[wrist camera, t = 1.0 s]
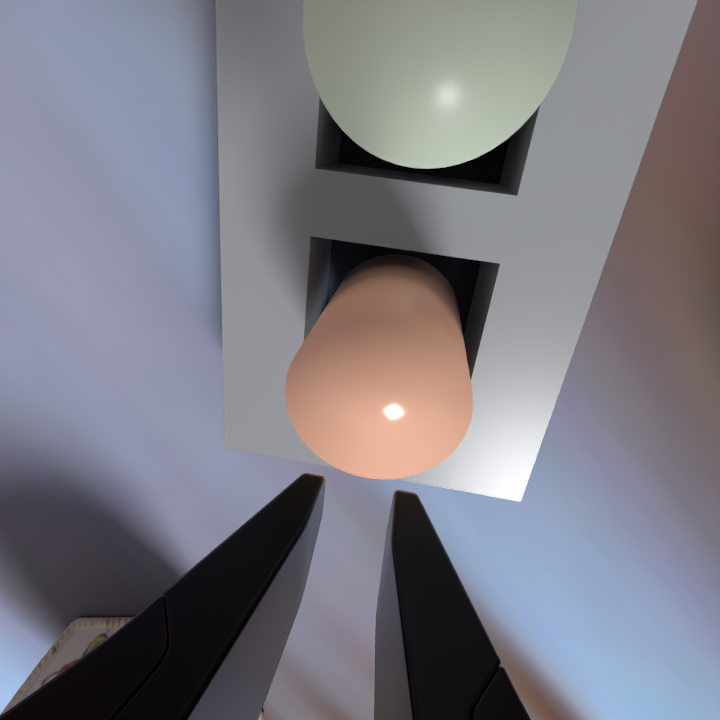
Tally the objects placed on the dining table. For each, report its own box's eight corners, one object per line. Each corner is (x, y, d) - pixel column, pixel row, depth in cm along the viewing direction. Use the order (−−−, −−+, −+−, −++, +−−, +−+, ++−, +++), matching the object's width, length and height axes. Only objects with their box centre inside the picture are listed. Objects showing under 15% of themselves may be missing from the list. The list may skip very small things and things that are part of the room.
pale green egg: (534, -19, 13) (621, -153, 7) (493, 167, 15) (533, 183, 9) (364, -36, 13) (311, -177, 7) (347, 148, 15) (296, 152, 9)
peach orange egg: (471, 264, 16) (494, 332, 10) (445, 382, 18) (452, 493, 13) (338, 245, 17) (289, 300, 11) (327, 362, 19) (281, 462, 13)
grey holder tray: (858, -696, 9) (1130, -1230, 6) (505, 441, 22) (520, 501, 18) (275, -691, 10) (191, -1149, 7) (257, 399, 22) (224, 447, 19)
